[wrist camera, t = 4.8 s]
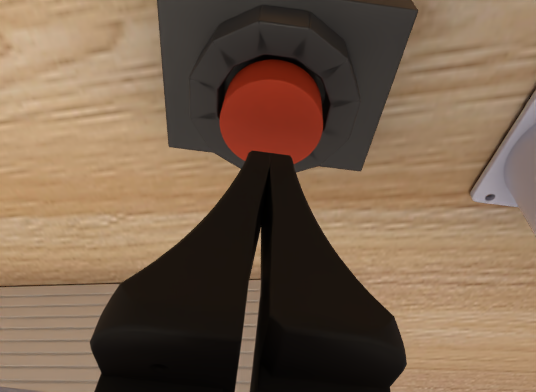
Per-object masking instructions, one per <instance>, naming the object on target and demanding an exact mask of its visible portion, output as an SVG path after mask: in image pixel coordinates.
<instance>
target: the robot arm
mask: <svg viewBox="0 0 536 392" xmlns="http://www.w3.org/2000/svg"><path fill="white" fill-rule="evenodd" d="M489 194H491V195H489ZM487 195H489V196H487ZM470 196H471V198H472V200H473V201H475V202H481V203H489V204H497V205H504V206H512V207H519V208H520V210H521V212H522V213H523V215H524V217H525V219H526V220H527V222H528V224H529V226H530V227H531V229H532V231H533V233H534V234H535V236H536V90H535V92H534V93H533V95H532V96H531V98H530V99H529V101H528V103H527V104H526V106H525V107H524V109H523V110H522V112H521V114H520V115H519V117H518V118H517V120H516V121H515V123H514V124H513V126H512V128H511V129H510V131H509V132H508V134H507V135H506V137H505V139H504V140H503V142H502V143H501V145H500V146H499V148H498V150H497V151H496V153H495V154H494V156H493V157H492V159H491V161H490V162H489V164H488V165H487V167H486V168H485V170H484V172H483V173H482V175H481V176H480V178H479V179H478V181H477V183H476V184H475V186H474V187H473V189H472V190H471V193H470ZM260 229H261V288H260V301H259V310H258V320H257V329H256V339H255V348H254V357H253V366H252V375H251V384H250V392H390V386H391V385H392V384H393V383H394V381H395V380H396V379H397V378H398V377H399V375H400V374H401V373H402V372H403V371H404V369H405V367H406V365H407V362H406V354H405V349H404V345H403V341H402V338H401V335H400V332H399V329H398V326H397V323H396V321H395V318H394V316H393V315H392V314H391V313H390V312H389V311H388V310H387V309H386V308H384V307H383V306H382V305H381V304H380V303H379V302H378V301H377V300H376V299H375V298H374V297H373V296H372V295H371V294H370V293H369V292H368V291H367V290H366V289H365V287H364V286H363V285H362V284H361V283H360V282H359V281H358V280H357V279H356V277H355V276H354V275H353V274H352V272H351V271H350V270H349V269H348V267H347V266H346V265H345V264H344V262H343V261H342V260H341V259H340V257H339V256H338V254H337V253H336V252H335V250H334V249H333V247H332V246H331V244H330V243H329V241H328V240H327V238H326V236H325V235H324V233H323V232H322V230H321V228H320V226H319V225H318V223H317V221H316V219H315V217H314V215H313V213H312V211H311V209H310V207H309V205H308V203H307V201H306V198H305V196H304V194H303V191H302V189H301V186H300V184H299V181H298V178H297V175H296V172H295V168H294V164H293V159H292V157H291V156H290V155H284V154H276V153H268V152H261V151H253V150H252V151H251V152H249V153H248V156H247V158H246V161H245V163H244V165H243V167H242V168H241V170H240V172H239V173H238V175H237V177H236V178H235V180H234V181H233V183H232V184H231V186H230V187H229V189H228V190H227V191H226V193H225V194H224V195H223V197H222V198H221V199H220V200H219V202H218V203H217V204H216V205H215V207H214V208H213V209H212V210H211V211H210V212H209V214H208V215H207V216H206V217H205V218H204V219H203V220H202V221H201V222H200V223H199V224H198V225H197V226H196V227H195V228H194V229H193V230H192V231H191V232H190V233H189V234H188V235H186V236H185V237H184V238H183V239H182V240H181V241H180V242H179V243H177V244H176V245H175V246H174V247H173V248H171V249H170V250H169V251H167V252H166V253H165V254H163V255H162V256H161V257H160V258H158V259H157V260H156V261H154V262H153V263H151V264H150V265H149V266H147V267H146V268H144V269H143V270H141V271H139V272H138V273H136V274H135V275H133V276H132V277H130V278H129V279H127V280H125V281H124V282H122V283H121V284H120V285H119V286H118V288H117V289H116V290H115V292H114V293H113V295H112V296H111V298H110V300H109V301H108V303H107V305H106V307H105V308H104V310H103V312H102V314H101V316H100V318H99V320H98V323H97V325H96V328H95V330H94V333H93V335H92V338H91V340H90V347H91V351H92V353H93V355H94V358H95V360H96V362H97V364H98V367H99V369H100V371H101V375H100V378H99V380H98V383H97V386H96V388H95V391H94V392H235V386H236V379H237V372H238V364H239V357H240V349H241V342H242V334H243V326H244V318H245V309H246V301H247V293H248V284H249V278H250V274H251V269H252V265H253V260H254V256H255V251H256V247H257V242H258V238H259V233H260ZM0 392H44V391H35V390H26V389H17V388H8V387H0Z"/></svg>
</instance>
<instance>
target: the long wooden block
mask: <svg viewBox="0 0 536 392" xmlns="http://www.w3.org/2000/svg"><path fill="white" fill-rule="evenodd" d="M119 285H120V284H96V285H61V286H26V287H0V387H8V388H17V389H26V390H35V391H44V392H94V391H95V388H96V386H97V383H98V380H99V378H100V375H101V371H100V369H99V367H98V364H97V362H96V360H95V358H94V355H93V353H92V351H91V347H90V340H91V338H92V335H93V333H94V330H95V328H96V325H97V323H98V320H99V318H100V316H101V314H102V312H103V310H104V308H105V307H106V305H107V303H108V301H109V300H110V298H111V296H112V295H113V293H114V292H115V290H116V289H117V288H118V286H119ZM260 288H261V280H249V284H248V293H247V301H246V309H245V318H244V326H243V334H242V342H241V349H240V357H239V364H238V372H237V379H236V386H235V392H250V384H251V375H252V366H253V357H254V348H255V339H256V329H257V320H258V310H259V301H260Z"/></svg>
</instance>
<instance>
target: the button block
mask: <svg viewBox="0 0 536 392" xmlns="http://www.w3.org/2000/svg"><path fill="white" fill-rule="evenodd" d="M157 6H158V19H159V31H160V44H161V57H162V69H163V82H164V94H165V107H166V119H167V132H168V144H169V147H173V148H181V149H189V150H197V151H204V152H212V153H215V154H217V155H219V156H220V157H222V158H224V159H225V160H227V161H229V162H230V163H232V164H234V165H235V166H237V167H239V168H240V169H241V168H242V167H243V165H244V163H245V161H244V160H242V159H241V158H239V157H238V156H237V155H236V154H234V153H233V152H232V151H231V149H230V148H229V147H228V146H227V144H226V143H225V141H224V139H223V137H222V134H221V130H220V121H219V120H220V113H221V109H222V106H223V102H224V99H225V96H226V92H227V89H228V86H229V84H230V82H231V81H232V79H233V78H234V76H235V75H236V74H237V73H238V72H239V71H240V70H241V69H243V68H244V67H246V66H248V65H250V64H252V63H254V62H257V61H261V60H269V59H276V60H283V61H287V62H290V63H293V64H295V65H297V66H299V67H301V68H302V69H304V70H305V71H306V72H307V73H308V74H309V75H310V76H311V77H312V78H313V79H314V81H315V83H316V84H317V86H318V88H319V91H320V95H321V101H322V115H323V131H322V135H321V139H320V141H319V143H318V145H317V146H316V148H315V149H314V150H313V151H312V152H311V154H309V155H308V156H307V157H306V158H304V159H303V160H301V161H300V162H298V163H295V164H294V168H295V172H299V171H303V170H306V169H310V168H313V167H316V166H322V167H330V168H338V169H346V170H354V171H361V170H362V167H363V164H364V162H365V159H366V156H367V153H368V150H369V148H370V145H371V142H372V139H373V136H374V134H375V131H376V128H377V125H378V122H379V120H380V117H381V114H382V111H383V108H384V106H385V103H386V100H387V97H388V94H389V92H390V89H391V86H392V83H393V80H394V78H395V75H396V72H397V69H398V66H399V64H400V61H401V58H402V55H403V52H404V49H405V47H406V44H407V41H408V38H409V35H410V33H411V30H412V27H413V24H414V21H415V19H416V16H417V13H418V9H417V8H416V6H415V5H414V3H413V2H412V0H157Z"/></svg>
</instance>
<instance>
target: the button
mask: <svg viewBox="0 0 536 392" xmlns="http://www.w3.org/2000/svg"><path fill="white" fill-rule="evenodd" d="M219 121H220V130H221V134H222V137H223V139H224V141H225V143H226V144H227V146H228V147H229V148H230V149H231V151H232V152H233V153H234V154H236V155H237V156H238V157H239V158H241V159H242V160H244V161H246V158H247V156H248V153H249V152H251V151H252V150H253V151H261V152H268V153H276V154H284V155H290V156H291V157H292V159H293V164H295V163H298V162H300V161H301V160H303V159H304V158H306V157H307V156H308V155H309V154H311V152H312V151H313V150H314V149H315V148H316V146H317V145H318V143H319V141H320V139H321V135H322V131H323V115H322V101H321V95H320V91H319V88H318V86H317V84H316V83H315V81H314V79H313V78H312V77H311V76H310V75H309V74H308V73H307V72H306V71H305V70H304V69H302V68H301V67H299V66H297V65H295V64H293V63H290V62H287V61H283V60H276V59H269V60H261V61H257V62H254V63H252V64H250V65H248V66H246V67H244V68H243V69H241V70H240V71H239V72H238V73H237V74H236V75H235V76H234V78H233V79H232V81H231V82H230V84H229V86H228V89H227V92H226V96H225V99H224V102H223V106H222V109H221V113H220V120H219Z"/></svg>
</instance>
